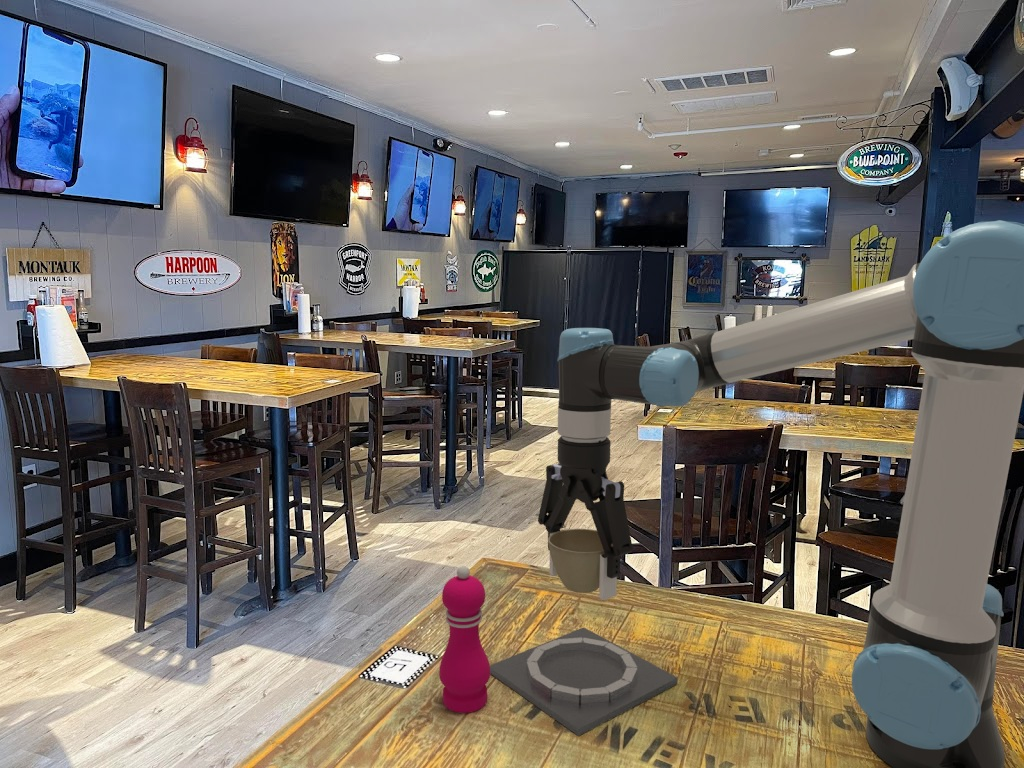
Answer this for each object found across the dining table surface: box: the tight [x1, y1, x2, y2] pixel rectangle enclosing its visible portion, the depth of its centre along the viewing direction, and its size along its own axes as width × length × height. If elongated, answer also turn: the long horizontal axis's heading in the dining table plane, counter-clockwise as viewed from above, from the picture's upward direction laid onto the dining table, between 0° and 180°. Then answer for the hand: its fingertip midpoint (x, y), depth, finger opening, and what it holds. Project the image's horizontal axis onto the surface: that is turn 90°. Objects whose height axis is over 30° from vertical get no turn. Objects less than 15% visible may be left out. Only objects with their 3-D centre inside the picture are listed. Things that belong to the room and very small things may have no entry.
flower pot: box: [547, 528, 613, 594], centre depth 107 cm, size 10×10×7 cm
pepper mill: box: [438, 565, 491, 714], centre depth 103 cm, size 7×7×20 cm
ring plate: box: [490, 627, 679, 737], centre depth 110 cm, size 20×20×2 cm
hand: (581, 584), depth 108 cm, fingers closed on flower pot, 10 cm apart
